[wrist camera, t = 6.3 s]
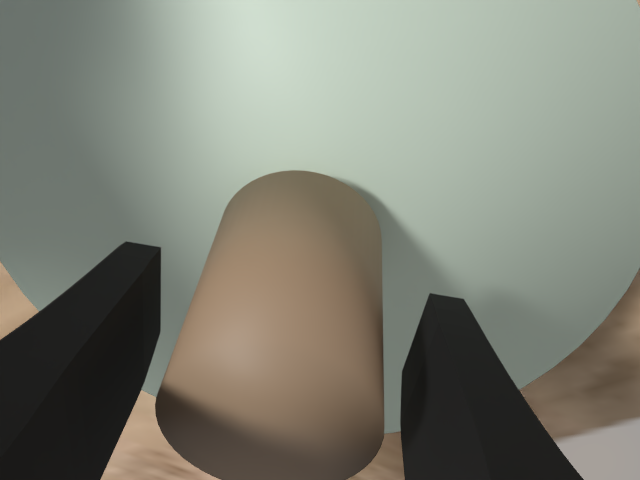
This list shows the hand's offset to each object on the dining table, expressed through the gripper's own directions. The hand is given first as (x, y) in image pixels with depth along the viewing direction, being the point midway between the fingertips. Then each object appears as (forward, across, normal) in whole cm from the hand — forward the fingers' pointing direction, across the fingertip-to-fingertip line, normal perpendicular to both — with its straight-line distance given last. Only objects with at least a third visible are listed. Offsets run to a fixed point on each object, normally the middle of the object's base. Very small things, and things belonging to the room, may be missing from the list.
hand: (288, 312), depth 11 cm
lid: (+3, 0, 0) cm, 3 cm away
